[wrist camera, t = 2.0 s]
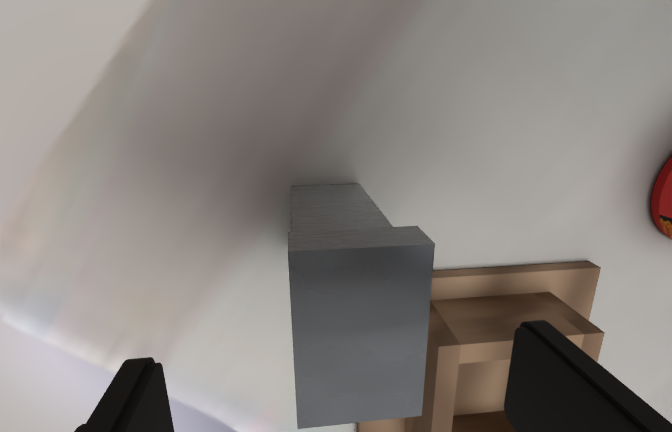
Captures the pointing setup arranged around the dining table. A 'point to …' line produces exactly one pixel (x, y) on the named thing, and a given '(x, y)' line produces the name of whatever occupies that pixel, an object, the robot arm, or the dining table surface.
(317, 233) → the grey boxy piece
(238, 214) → the dining table surface
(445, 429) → the well block
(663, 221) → the canned food
